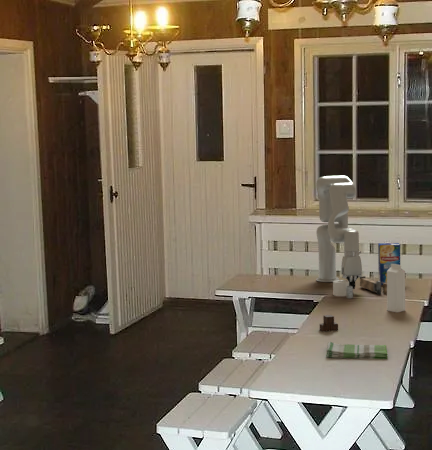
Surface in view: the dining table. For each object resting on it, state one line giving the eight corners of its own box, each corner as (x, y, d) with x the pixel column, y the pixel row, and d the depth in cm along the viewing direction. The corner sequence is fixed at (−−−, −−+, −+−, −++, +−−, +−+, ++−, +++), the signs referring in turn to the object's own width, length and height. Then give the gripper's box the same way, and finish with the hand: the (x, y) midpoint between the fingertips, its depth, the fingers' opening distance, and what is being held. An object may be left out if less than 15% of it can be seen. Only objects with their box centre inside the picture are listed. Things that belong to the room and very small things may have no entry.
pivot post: (375, 293, 435) (375, 281, 434) (379, 293, 435) (379, 280, 435) (377, 294, 432) (377, 282, 432) (382, 294, 433) (381, 281, 432)
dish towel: (327, 347, 335) (327, 339, 335) (386, 348, 331) (386, 339, 331) (325, 359, 318) (325, 350, 318) (388, 360, 314) (387, 351, 314)
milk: (396, 312, 390) (396, 265, 388) (386, 310, 395) (386, 264, 392) (405, 310, 394) (405, 264, 391) (395, 308, 399) (395, 262, 396)
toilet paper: (343, 291, 443) (343, 278, 442) (351, 295, 432) (351, 282, 431) (328, 292, 441) (328, 279, 440) (336, 296, 430) (336, 283, 429)
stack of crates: (321, 338, 351) (320, 321, 350) (307, 329, 365) (307, 314, 364) (354, 334, 355) (354, 318, 354) (339, 326, 369) (339, 311, 368)
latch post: (346, 297, 427) (346, 286, 426) (350, 297, 427) (350, 285, 427) (348, 298, 424) (348, 286, 424) (352, 298, 425) (352, 286, 424)
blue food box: (400, 284, 456) (400, 244, 454) (380, 285, 457) (379, 245, 454) (398, 282, 463) (398, 242, 460) (378, 282, 464) (378, 243, 461)
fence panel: (382, 292, 436) (382, 280, 435) (399, 291, 439) (399, 279, 438) (385, 293, 433) (385, 281, 433) (401, 292, 436) (401, 280, 435)
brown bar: (359, 286, 451) (359, 276, 451) (364, 285, 452) (364, 276, 452) (374, 291, 435) (374, 281, 434) (379, 291, 436) (379, 281, 435)
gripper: (361, 251, 441) (361, 286, 443) (335, 253, 437) (335, 288, 439) (368, 253, 434) (368, 288, 436) (341, 255, 430) (342, 291, 432)
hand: (352, 288), depth 438 cm, fingers closed
